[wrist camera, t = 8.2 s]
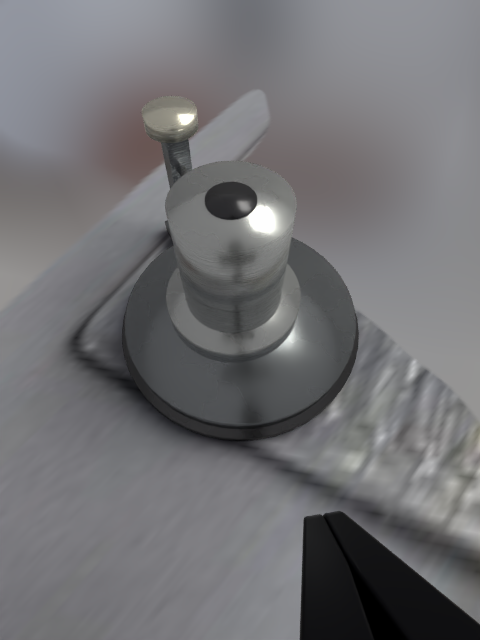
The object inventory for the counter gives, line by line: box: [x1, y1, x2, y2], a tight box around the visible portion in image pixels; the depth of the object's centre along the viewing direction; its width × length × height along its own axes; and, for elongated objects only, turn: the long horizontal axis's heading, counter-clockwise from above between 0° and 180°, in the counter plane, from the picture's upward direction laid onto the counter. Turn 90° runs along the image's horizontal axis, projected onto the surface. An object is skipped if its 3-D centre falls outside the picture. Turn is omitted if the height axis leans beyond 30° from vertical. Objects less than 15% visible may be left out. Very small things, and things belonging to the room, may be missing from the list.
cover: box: [165, 161, 301, 363], centre depth 20 cm, size 8×8×9 cm
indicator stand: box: [142, 96, 198, 238], centre depth 25 cm, size 5×3×10 cm, turn 26°
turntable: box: [122, 238, 359, 441], centre depth 24 cm, size 16×16×2 cm
